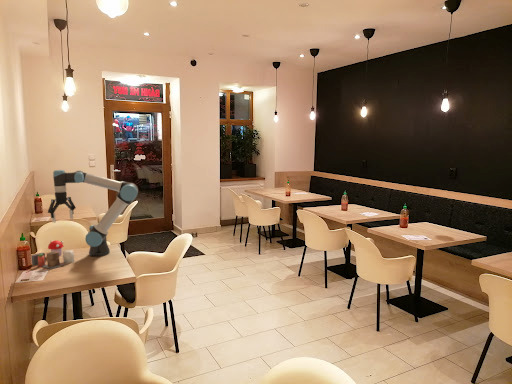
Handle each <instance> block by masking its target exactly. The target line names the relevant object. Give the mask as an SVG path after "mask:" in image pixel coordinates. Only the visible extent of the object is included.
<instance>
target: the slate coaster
mask: <svg viewBox="0 0 512 384" xmlns="http://www.w3.org/2000/svg"><path fill="white" fill-rule="evenodd" d="M66 264H67V263H64V262H60V265H57V266H53V267H51V266H48V263H47V264H45V265H44V266H42V267H41V268H44V269H48V270H53V269H57V268H60V267H64V266H66Z"/></svg>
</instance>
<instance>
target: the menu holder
mask: <svg viewBox="0 0 512 384" xmlns="http://www.w3.org/2000/svg"><path fill="white" fill-rule="evenodd" d="M39 254H43V256H44V260H45V261H46V254H45V252H39V253H36V254H32V255H31V256H30V257H31V265H32V266H39V265H38V256H39Z"/></svg>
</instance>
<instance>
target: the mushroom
mask: <svg viewBox="0 0 512 384" xmlns="http://www.w3.org/2000/svg"><path fill="white" fill-rule="evenodd" d="M64 243H65V242H64V241H63V240H62V241H59V240H56V239H55V240H50V243H49V244H48V246H47V249H48V250H50V252H53V251H55V252H59V257H61V256H63V249H62V248H64V247H65V246H64Z"/></svg>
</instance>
